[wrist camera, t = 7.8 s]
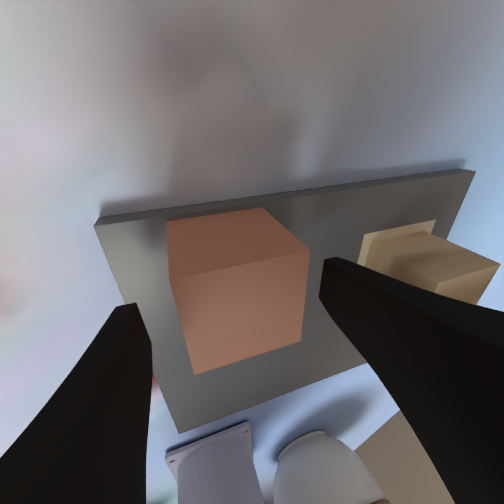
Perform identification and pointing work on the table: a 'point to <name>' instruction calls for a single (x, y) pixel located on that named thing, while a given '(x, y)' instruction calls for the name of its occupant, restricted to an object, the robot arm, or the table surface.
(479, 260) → the maple block
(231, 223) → the terracotta block
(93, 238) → the table surface
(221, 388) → the plate
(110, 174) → the table surface
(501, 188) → the table surface
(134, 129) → the table surface
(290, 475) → the lidded bowl
